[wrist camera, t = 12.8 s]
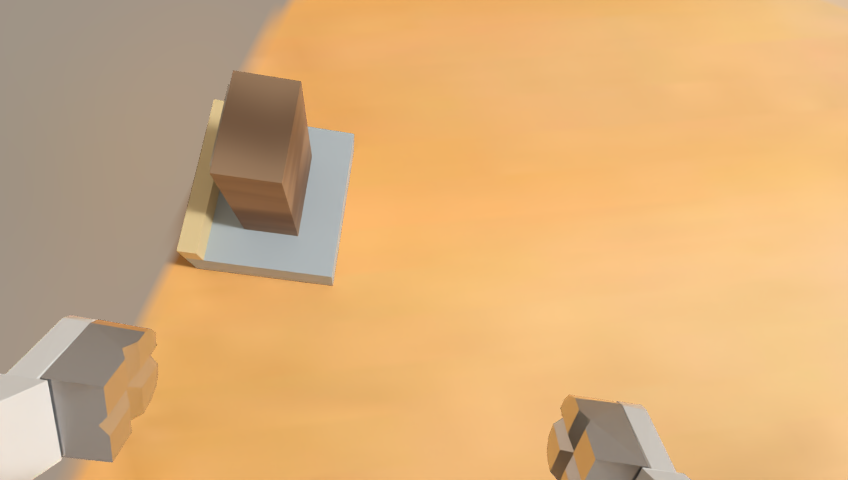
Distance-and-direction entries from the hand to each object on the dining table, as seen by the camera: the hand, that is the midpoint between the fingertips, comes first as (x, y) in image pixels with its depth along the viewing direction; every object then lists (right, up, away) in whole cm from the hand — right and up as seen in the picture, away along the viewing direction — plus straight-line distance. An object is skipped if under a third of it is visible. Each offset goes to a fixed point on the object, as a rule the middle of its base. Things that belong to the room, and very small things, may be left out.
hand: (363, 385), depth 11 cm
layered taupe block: (-7, +6, +20) cm, 22 cm away
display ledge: (-8, +5, +23) cm, 24 cm away
